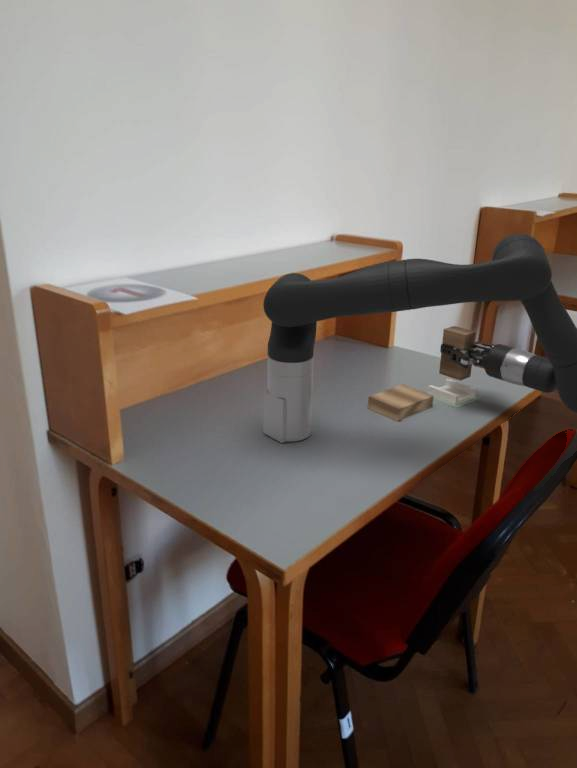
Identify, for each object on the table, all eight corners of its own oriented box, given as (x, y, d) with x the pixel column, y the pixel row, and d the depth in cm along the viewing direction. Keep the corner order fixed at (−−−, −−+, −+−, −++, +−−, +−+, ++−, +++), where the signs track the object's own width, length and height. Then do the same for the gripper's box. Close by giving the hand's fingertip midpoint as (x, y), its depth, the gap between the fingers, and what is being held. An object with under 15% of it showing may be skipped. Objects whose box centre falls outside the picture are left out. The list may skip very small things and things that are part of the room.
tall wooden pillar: (460, 380, 148) (465, 335, 143) (439, 373, 152) (443, 329, 148) (470, 376, 150) (475, 331, 146) (449, 369, 154) (454, 326, 150)
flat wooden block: (397, 421, 140) (398, 409, 139) (367, 408, 146) (368, 396, 145) (432, 407, 147) (433, 395, 146) (402, 395, 154) (403, 384, 152)
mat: (457, 409, 147) (457, 407, 147) (422, 395, 154) (422, 394, 154) (479, 399, 152) (480, 397, 152) (445, 387, 159) (445, 385, 159)
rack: (454, 405, 148) (456, 396, 147) (427, 394, 153) (428, 386, 152) (475, 397, 153) (476, 388, 152) (447, 387, 158) (448, 378, 157)
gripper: (532, 342, 141) (467, 325, 153) (496, 355, 133) (429, 336, 145) (527, 374, 144) (463, 354, 156) (491, 389, 135) (426, 367, 148)
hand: (447, 346), depth 150 cm, fingers closed on tall wooden pillar, 4 cm apart
